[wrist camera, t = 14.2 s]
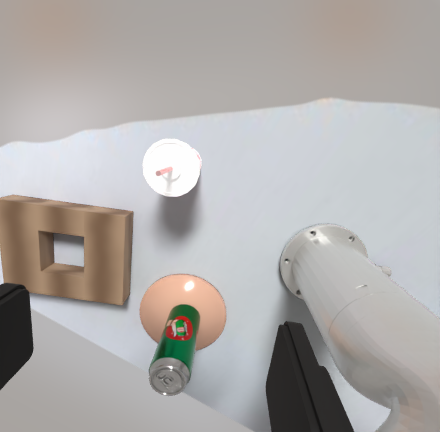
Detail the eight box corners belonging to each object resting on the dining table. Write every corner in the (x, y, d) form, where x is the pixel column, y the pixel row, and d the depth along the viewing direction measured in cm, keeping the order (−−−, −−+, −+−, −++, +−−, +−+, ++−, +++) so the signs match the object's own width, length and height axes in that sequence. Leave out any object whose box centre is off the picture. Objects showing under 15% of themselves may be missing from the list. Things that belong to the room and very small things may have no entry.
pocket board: (133, 211, 38) (125, 216, 35) (129, 294, 42) (122, 305, 39) (13, 194, 38) (-5, 198, 35) (20, 279, 42) (4, 288, 39)
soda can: (186, 334, 42) (169, 405, 31) (163, 315, 41) (137, 380, 30) (207, 316, 41) (198, 382, 30) (184, 296, 40) (165, 356, 29)
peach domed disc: (231, 280, 40) (231, 283, 39) (220, 352, 44) (220, 356, 43) (143, 268, 40) (141, 270, 39) (139, 341, 44) (137, 345, 43)
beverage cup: (202, 136, 35) (184, 129, 21) (211, 180, 36) (199, 201, 23) (158, 145, 35) (114, 144, 22) (169, 188, 37) (134, 213, 23)
